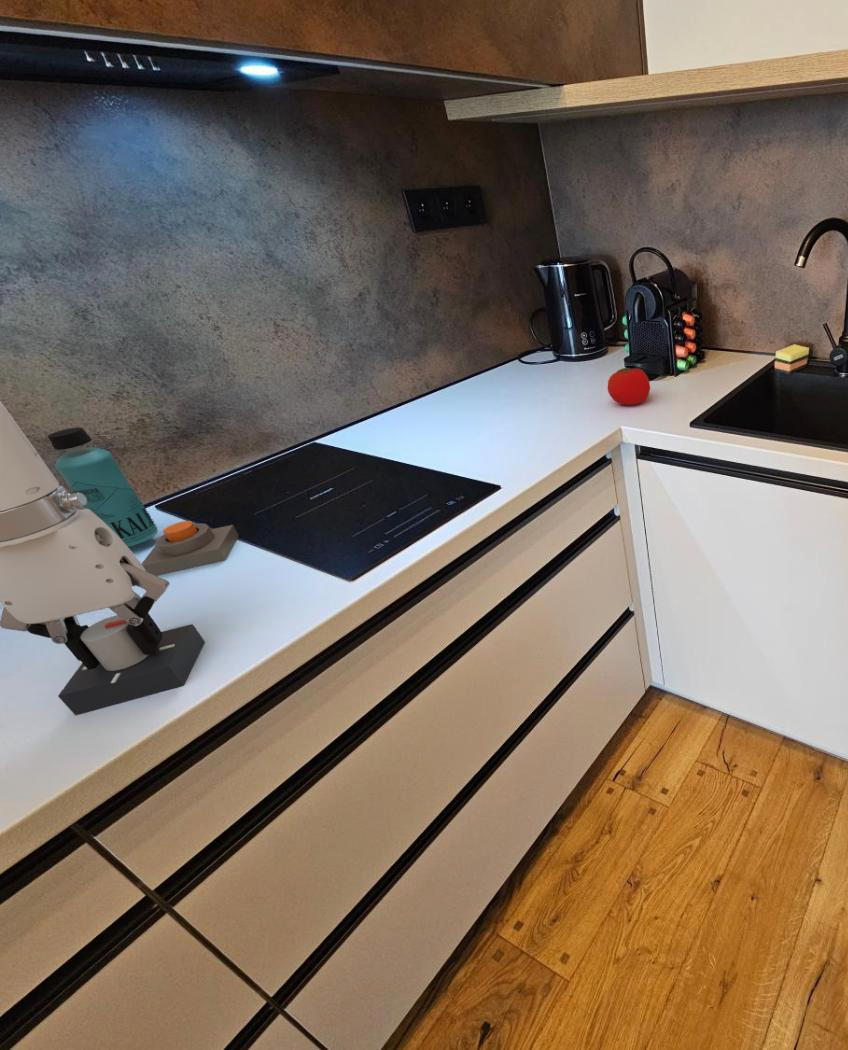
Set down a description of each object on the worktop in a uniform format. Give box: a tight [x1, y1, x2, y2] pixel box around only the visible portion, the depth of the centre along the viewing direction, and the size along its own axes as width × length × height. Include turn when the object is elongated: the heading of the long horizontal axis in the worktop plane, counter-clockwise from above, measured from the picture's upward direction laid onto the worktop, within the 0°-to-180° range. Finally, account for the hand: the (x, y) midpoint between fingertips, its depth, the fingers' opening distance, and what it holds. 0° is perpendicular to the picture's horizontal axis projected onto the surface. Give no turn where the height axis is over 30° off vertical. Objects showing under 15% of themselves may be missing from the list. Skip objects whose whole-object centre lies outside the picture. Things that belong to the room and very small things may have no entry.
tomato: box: [606, 367, 651, 406], centre depth 137 cm, size 9×10×8 cm
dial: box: [81, 614, 150, 671], centre depth 65 cm, size 4×4×5 cm
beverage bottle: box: [47, 426, 158, 548], centre depth 90 cm, size 6×7×20 cm
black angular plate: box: [57, 623, 206, 716], centre depth 67 cm, size 10×9×3 cm
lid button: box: [162, 520, 198, 542], centre depth 89 cm, size 4×4×2 cm
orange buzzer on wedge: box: [141, 523, 240, 577], centre depth 90 cm, size 10×8×4 cm
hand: (126, 652), depth 66 cm, fingers closed on dial, 4 cm apart
